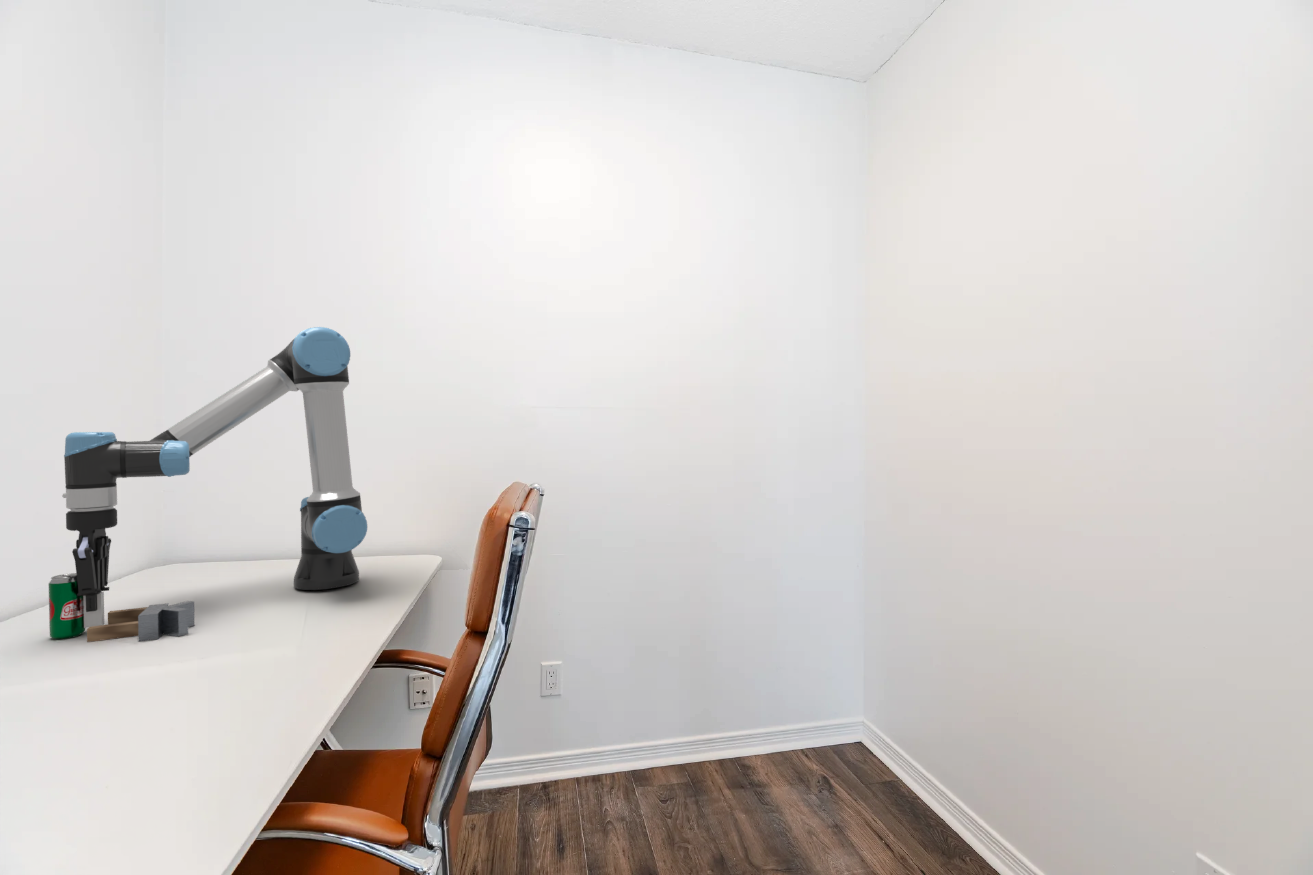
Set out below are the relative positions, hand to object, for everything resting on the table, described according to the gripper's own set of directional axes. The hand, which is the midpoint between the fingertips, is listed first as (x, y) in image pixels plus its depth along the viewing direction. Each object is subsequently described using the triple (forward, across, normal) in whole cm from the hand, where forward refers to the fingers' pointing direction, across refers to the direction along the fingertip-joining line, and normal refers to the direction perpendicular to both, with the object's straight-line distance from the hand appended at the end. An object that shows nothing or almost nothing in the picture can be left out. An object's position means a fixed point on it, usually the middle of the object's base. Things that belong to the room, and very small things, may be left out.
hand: (94, 625), depth 121 cm
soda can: (+2, 0, -4) cm, 4 cm away
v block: (+2, +7, +16) cm, 17 cm away
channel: (+1, 0, +5) cm, 5 cm away
